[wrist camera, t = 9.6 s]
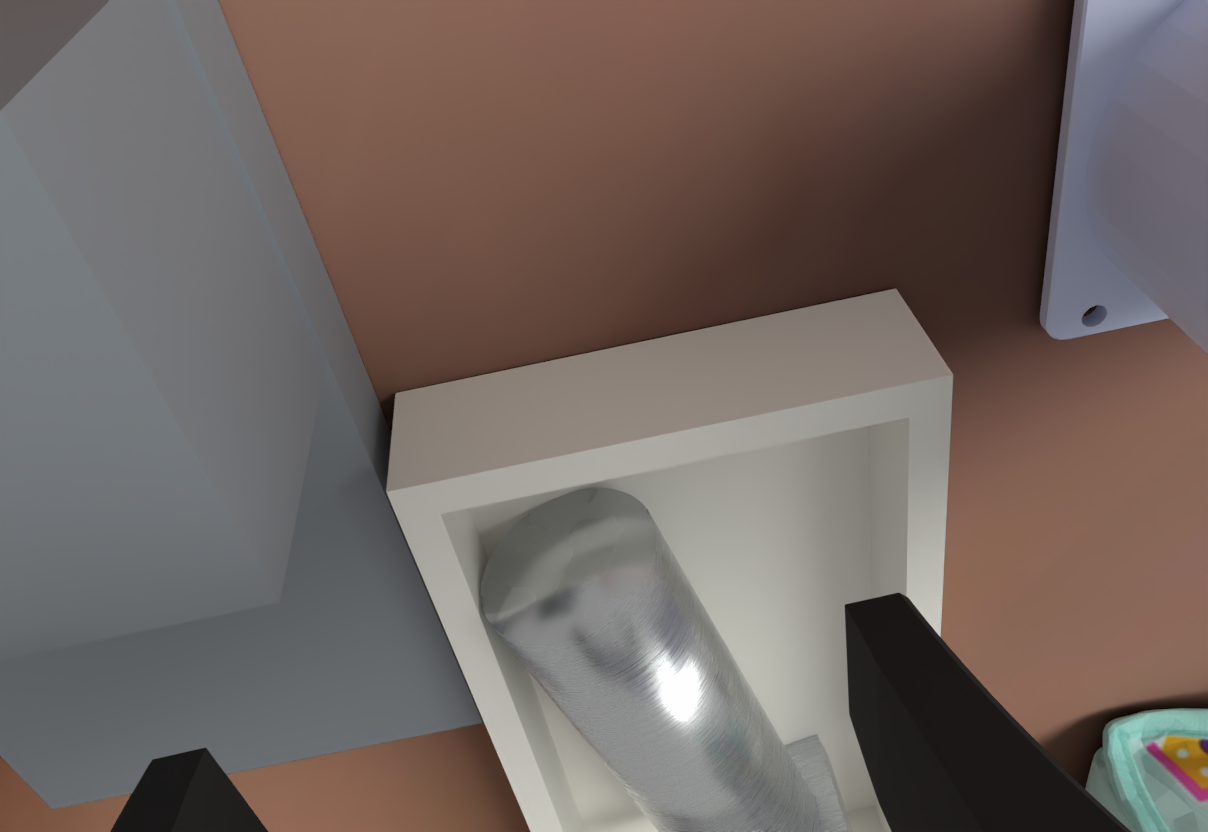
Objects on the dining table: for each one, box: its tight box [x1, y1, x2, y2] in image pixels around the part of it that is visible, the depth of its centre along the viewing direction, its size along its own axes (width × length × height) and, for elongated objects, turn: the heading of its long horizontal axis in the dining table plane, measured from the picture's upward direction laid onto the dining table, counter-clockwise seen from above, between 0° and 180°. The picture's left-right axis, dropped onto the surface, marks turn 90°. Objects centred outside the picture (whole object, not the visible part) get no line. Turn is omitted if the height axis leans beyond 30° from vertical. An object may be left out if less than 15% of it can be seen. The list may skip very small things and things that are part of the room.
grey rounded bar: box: [480, 488, 853, 832], centre depth 25 cm, size 13×5×4 cm, turn 24°
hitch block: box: [0, 0, 483, 809], centre depth 18 cm, size 18×11×8 cm, turn 10°
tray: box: [386, 289, 953, 832], centre depth 26 cm, size 11×20×3 cm, turn 10°
